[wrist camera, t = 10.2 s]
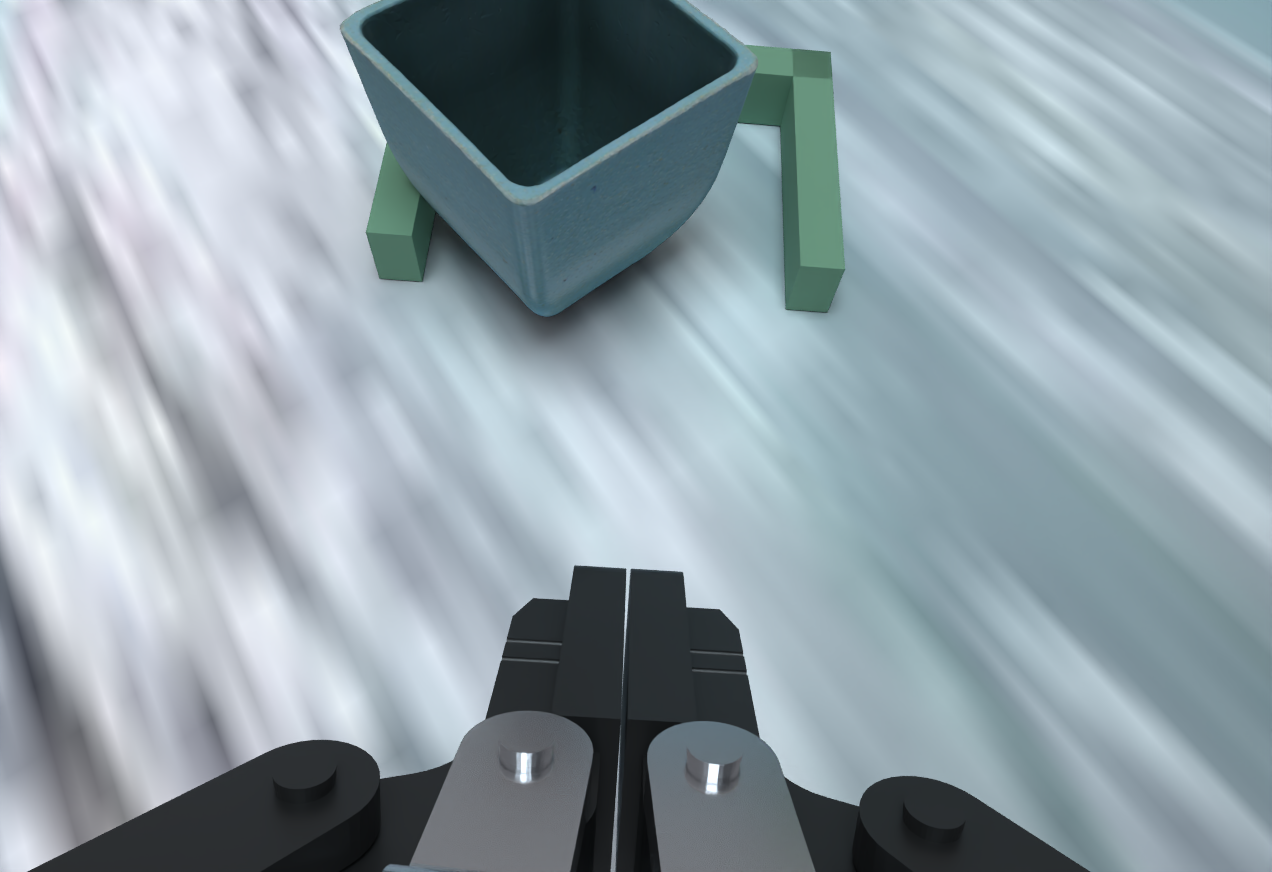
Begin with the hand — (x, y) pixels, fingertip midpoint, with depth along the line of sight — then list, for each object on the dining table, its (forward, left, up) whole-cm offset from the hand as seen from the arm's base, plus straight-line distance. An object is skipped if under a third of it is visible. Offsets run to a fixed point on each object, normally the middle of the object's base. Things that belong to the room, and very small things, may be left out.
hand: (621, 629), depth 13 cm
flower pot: (+3, -19, -15) cm, 24 cm away
